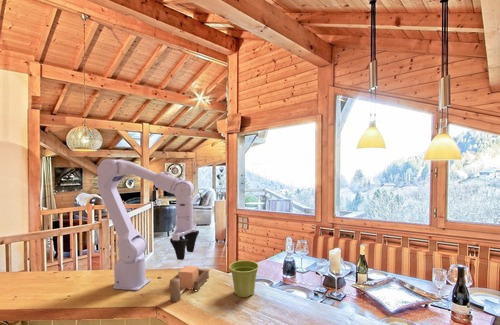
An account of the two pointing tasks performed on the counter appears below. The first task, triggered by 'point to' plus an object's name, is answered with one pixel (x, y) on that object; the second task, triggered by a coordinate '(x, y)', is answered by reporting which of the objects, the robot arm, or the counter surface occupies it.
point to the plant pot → (244, 277)
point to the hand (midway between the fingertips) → (185, 255)
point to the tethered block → (183, 282)
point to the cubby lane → (199, 278)
